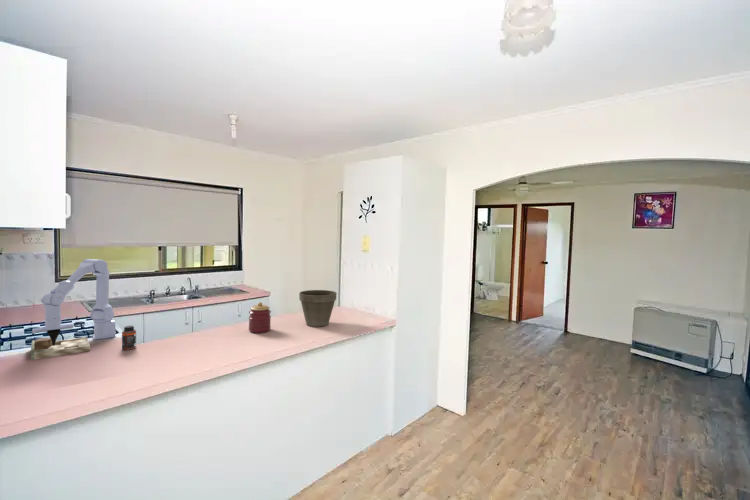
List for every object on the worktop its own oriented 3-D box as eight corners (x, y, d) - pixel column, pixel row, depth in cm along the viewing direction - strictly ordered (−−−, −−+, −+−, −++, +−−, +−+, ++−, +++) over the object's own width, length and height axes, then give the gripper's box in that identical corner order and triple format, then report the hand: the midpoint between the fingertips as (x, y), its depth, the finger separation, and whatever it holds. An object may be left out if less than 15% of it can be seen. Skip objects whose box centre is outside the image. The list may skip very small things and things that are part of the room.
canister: (266, 333, 213) (267, 304, 212) (245, 333, 213) (245, 304, 213) (273, 328, 226) (273, 300, 225) (253, 327, 226) (253, 300, 226)
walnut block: (52, 345, 176) (52, 337, 175) (48, 348, 171) (48, 340, 171) (39, 346, 174) (39, 338, 173) (34, 349, 169) (34, 341, 169)
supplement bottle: (139, 347, 183) (139, 325, 182) (127, 350, 177) (127, 328, 176) (130, 345, 185) (130, 324, 184) (119, 349, 179) (119, 327, 178)
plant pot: (304, 318, 253) (305, 288, 252) (339, 320, 250) (339, 290, 249) (293, 328, 228) (294, 294, 227) (331, 330, 226) (332, 296, 225)
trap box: (87, 341, 189) (87, 333, 189) (90, 350, 176) (90, 341, 175) (32, 349, 175) (32, 340, 174) (31, 360, 161) (31, 350, 161)
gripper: (71, 313, 180) (71, 340, 181) (31, 318, 170) (32, 346, 170) (73, 316, 176) (73, 343, 176) (32, 321, 165) (33, 350, 166)
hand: (53, 345), depth 173 cm, fingers closed
